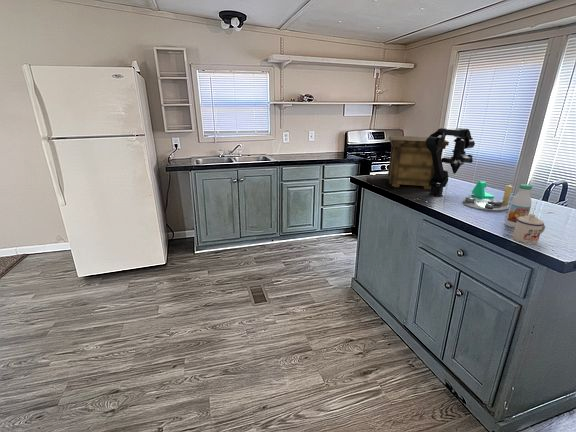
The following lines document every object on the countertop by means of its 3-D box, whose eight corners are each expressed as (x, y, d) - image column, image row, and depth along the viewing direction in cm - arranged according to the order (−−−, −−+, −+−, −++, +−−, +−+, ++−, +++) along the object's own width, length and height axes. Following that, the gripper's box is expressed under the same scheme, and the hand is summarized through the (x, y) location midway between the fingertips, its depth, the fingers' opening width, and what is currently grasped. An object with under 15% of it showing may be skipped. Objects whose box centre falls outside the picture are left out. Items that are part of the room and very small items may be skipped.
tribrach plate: (482, 212, 163) (483, 206, 162) (453, 200, 183) (454, 195, 182) (516, 210, 167) (518, 204, 166) (485, 199, 187) (486, 194, 186)
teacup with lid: (523, 245, 123) (531, 218, 120) (506, 236, 132) (513, 210, 128) (550, 244, 125) (559, 217, 121) (531, 235, 133) (538, 210, 129)
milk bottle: (501, 223, 147) (511, 183, 140) (515, 223, 148) (527, 183, 141) (513, 229, 140) (525, 187, 133) (528, 228, 141) (541, 187, 134)
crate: (384, 177, 244) (389, 135, 233) (431, 180, 236) (438, 137, 225) (385, 187, 212) (391, 139, 201) (439, 191, 204) (449, 141, 193)
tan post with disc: (487, 208, 164) (492, 188, 161) (477, 204, 171) (481, 185, 167) (512, 206, 168) (517, 187, 164) (501, 203, 174) (506, 184, 171)
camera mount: (494, 200, 185) (498, 184, 182) (481, 200, 186) (485, 183, 182) (482, 195, 197) (486, 179, 193) (470, 194, 197) (474, 179, 193)
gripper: (455, 150, 182) (450, 176, 187) (482, 150, 185) (476, 175, 190) (442, 148, 192) (438, 172, 197) (468, 148, 195) (463, 172, 201)
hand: (454, 173), depth 196 cm, fingers closed
